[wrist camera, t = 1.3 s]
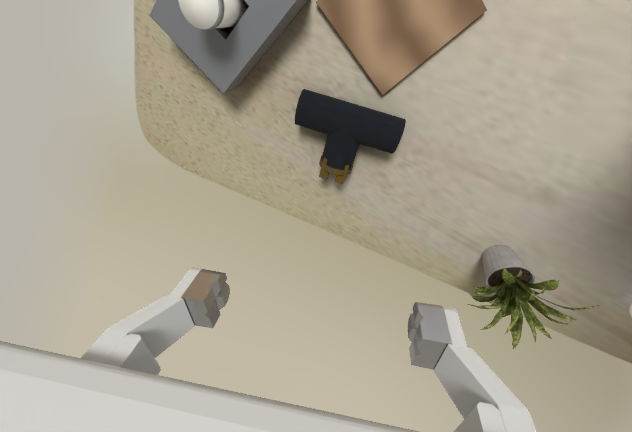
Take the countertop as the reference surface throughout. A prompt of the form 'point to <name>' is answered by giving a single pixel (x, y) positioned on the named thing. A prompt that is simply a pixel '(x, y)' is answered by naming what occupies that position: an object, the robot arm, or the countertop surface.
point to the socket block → (228, 38)
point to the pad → (397, 32)
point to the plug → (213, 12)
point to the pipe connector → (346, 130)
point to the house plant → (515, 291)
